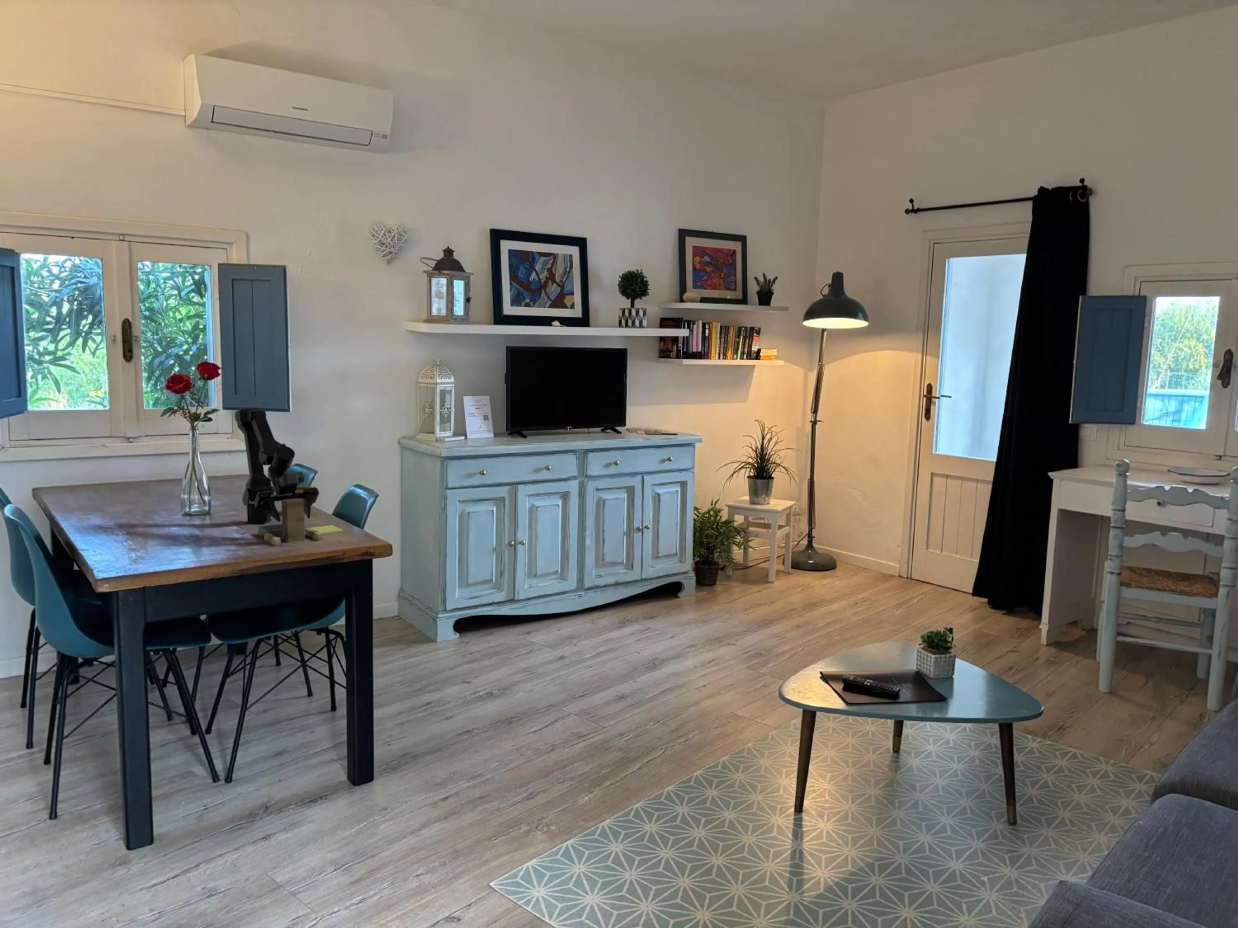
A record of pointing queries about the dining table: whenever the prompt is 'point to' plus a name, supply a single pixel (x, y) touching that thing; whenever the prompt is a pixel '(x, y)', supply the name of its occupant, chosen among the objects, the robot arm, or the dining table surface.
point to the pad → (327, 529)
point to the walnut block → (293, 520)
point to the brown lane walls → (277, 541)
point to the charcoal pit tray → (271, 530)
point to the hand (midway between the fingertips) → (294, 519)
